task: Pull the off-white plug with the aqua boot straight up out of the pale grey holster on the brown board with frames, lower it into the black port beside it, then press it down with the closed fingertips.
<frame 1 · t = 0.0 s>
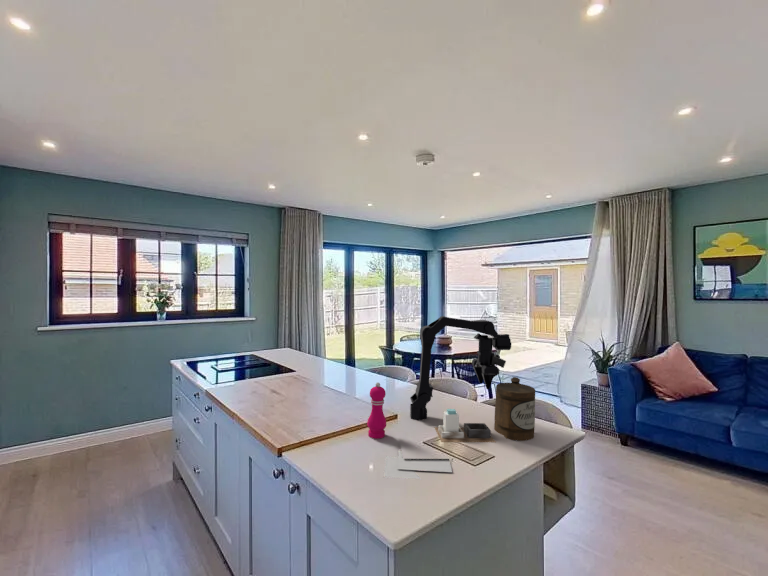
hand: (484, 386, 160), 15 cm above the counter, fingers open, 9 cm apart
wooden container: (513, 433, 147), on the counter
plug: (450, 434, 141), point 1 cm above the counter, touching brown board with frames
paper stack: (410, 469, 116), on the counter
brown board with frames: (463, 437, 141), on the counter
pepper mill: (376, 436, 141), on the counter
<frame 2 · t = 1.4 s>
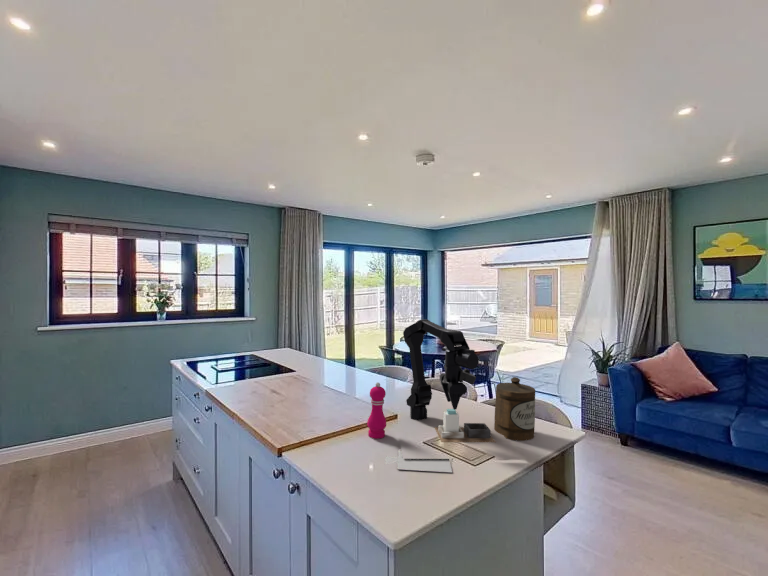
hand: (451, 405, 141), 12 cm above the counter, fingers open, 9 cm apart
nothing on the counter moved.
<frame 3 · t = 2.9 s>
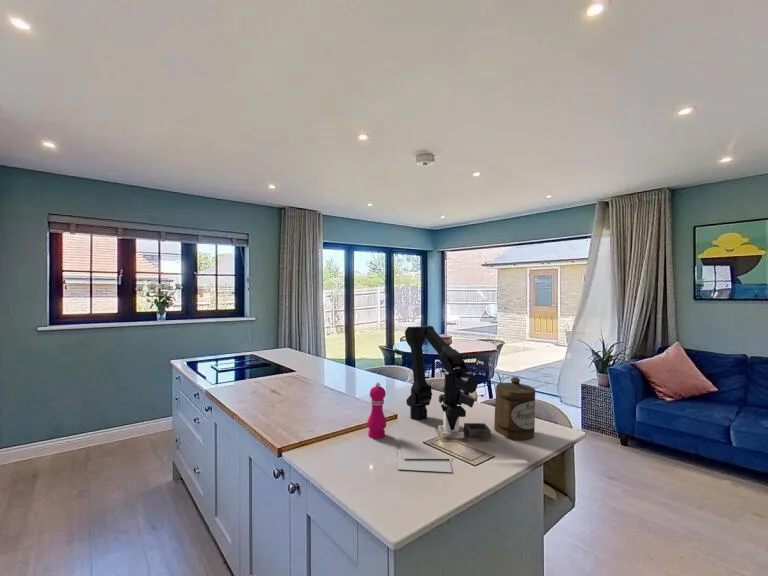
hand: (450, 427, 141), 4 cm above the counter, fingers closed on plug, 4 cm apart
plug: (450, 434, 141), point 1 cm above the counter, touching gripper, brown board with frames
everything else where it was.
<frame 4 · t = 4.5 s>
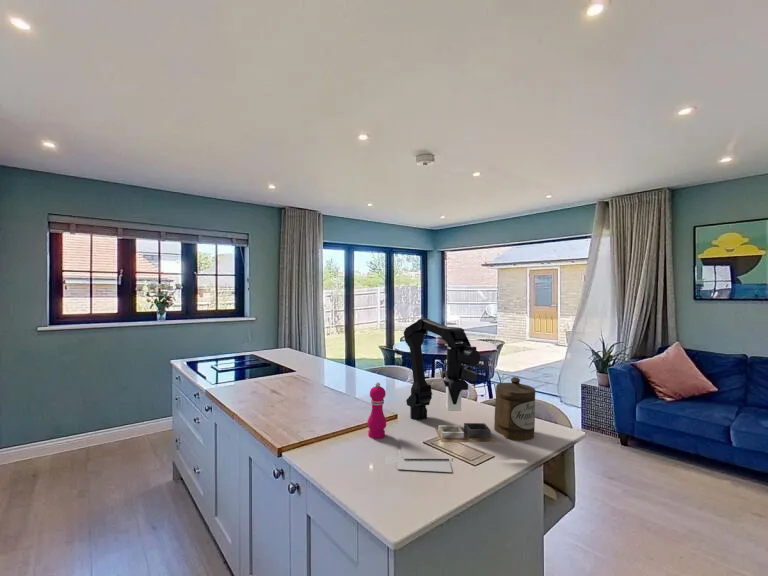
hand: (453, 402, 141), 13 cm above the counter, fingers closed on plug, 4 cm apart
plug: (453, 409, 141), point 11 cm above the counter, touching gripper
everything else where it was.
when the fingers open (5 cm above the counter, at t = 6.4 s): plug drops 1 cm, resting on brown board with frames.
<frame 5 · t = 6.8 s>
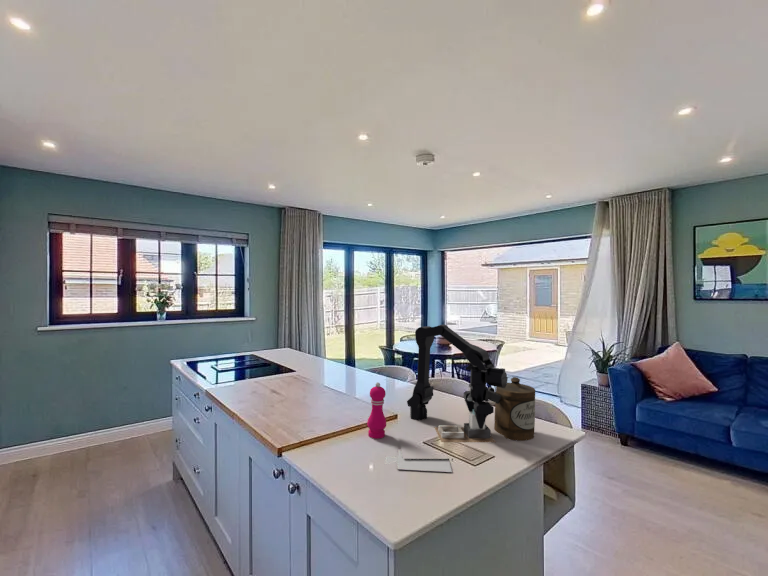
hand: (477, 423, 142), 5 cm above the counter, fingers open, 9 cm apart
plug: (476, 434, 142), point 1 cm above the counter, touching brown board with frames
everything else where it was.
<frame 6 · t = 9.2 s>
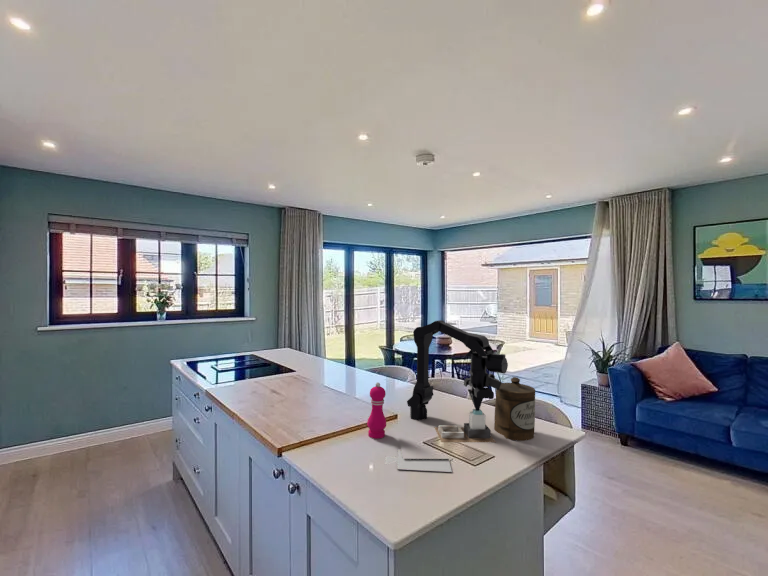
hand: (477, 410, 142), 10 cm above the counter, fingers closed, pressing on plug
plug: (476, 434, 142), point 1 cm above the counter, touching gripper, brown board with frames
everything else where it was.
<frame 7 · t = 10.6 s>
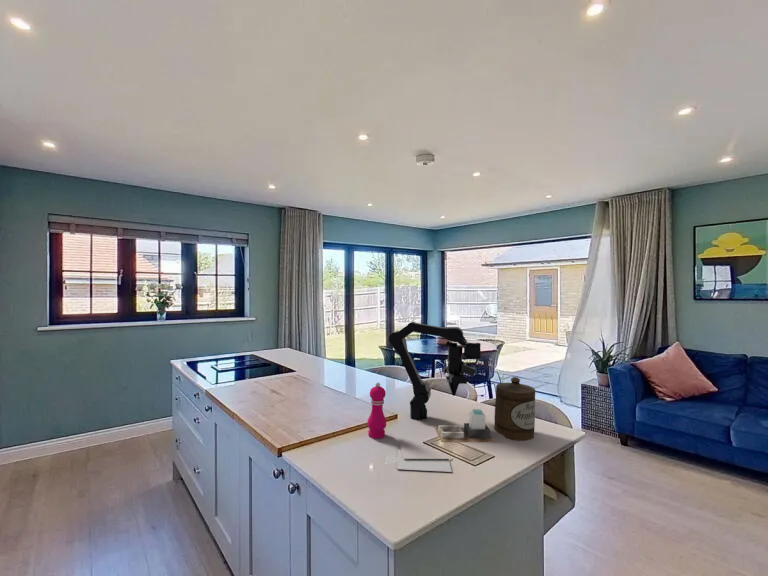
hand: (453, 395, 155), 12 cm above the counter, fingers closed
plug: (476, 434, 142), point 1 cm above the counter, touching brown board with frames
everything else where it was.
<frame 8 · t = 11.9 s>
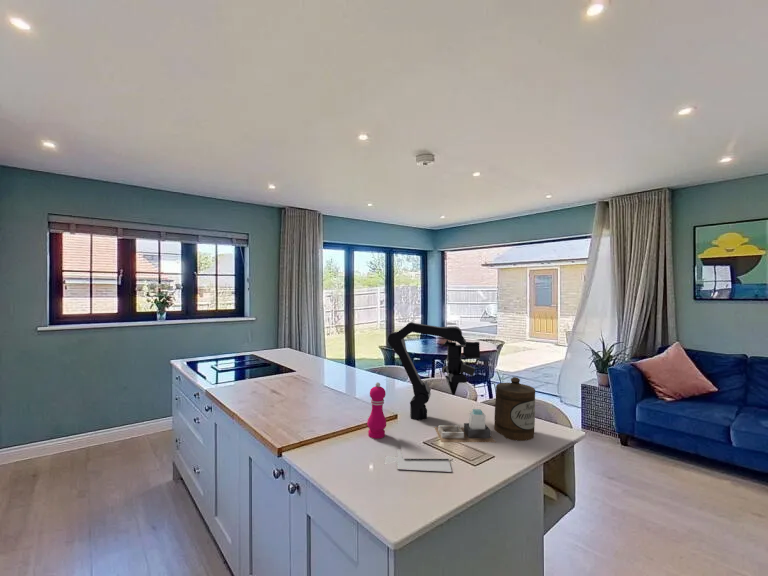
hand: (453, 394, 155), 12 cm above the counter, fingers closed
nothing on the counter moved.
at the end: plug 0.0 cm from the target spot on the brown board with frames, point 1.0 cm above the brown board with frames's base; plug tilted 0°; the gripper is holding nothing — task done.
